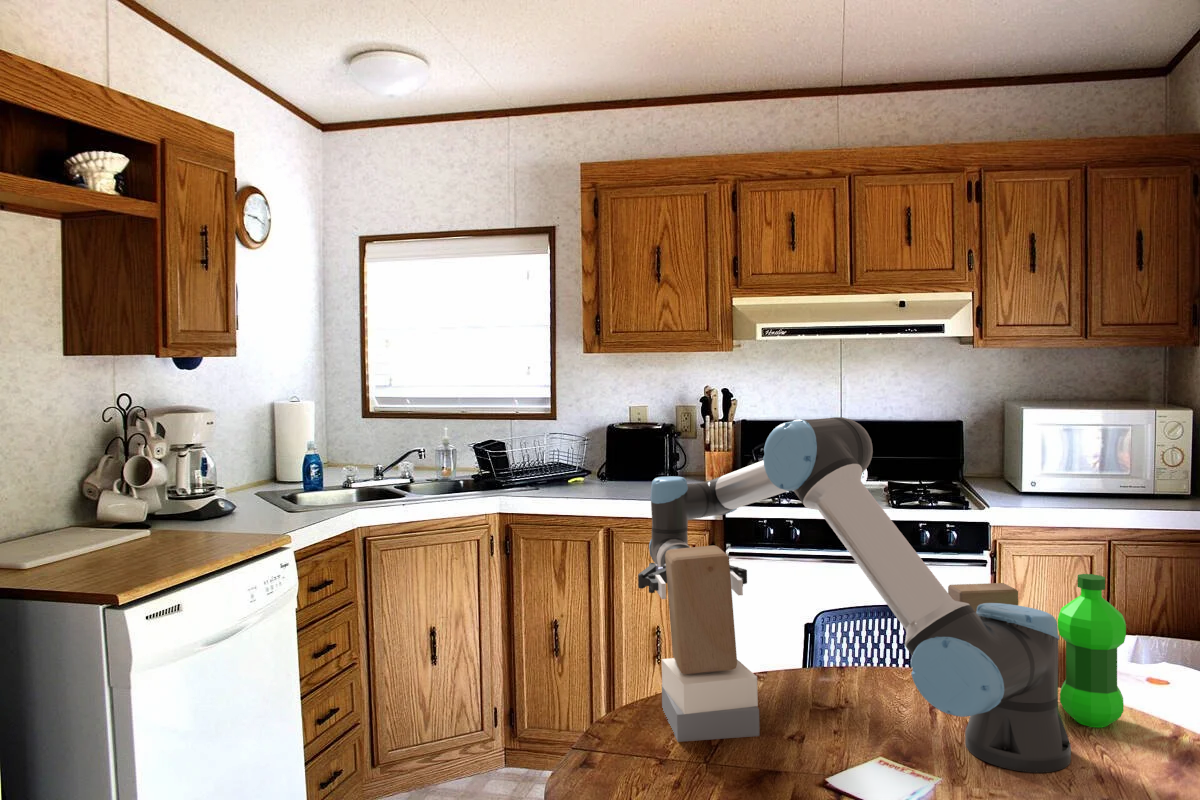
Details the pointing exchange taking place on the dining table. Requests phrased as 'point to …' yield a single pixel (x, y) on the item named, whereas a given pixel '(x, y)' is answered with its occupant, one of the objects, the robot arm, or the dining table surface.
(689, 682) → the tower top
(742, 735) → the tower base
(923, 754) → the dining table surface
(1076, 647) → the plastic bottle
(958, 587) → the decorative block
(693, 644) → the wooden block
